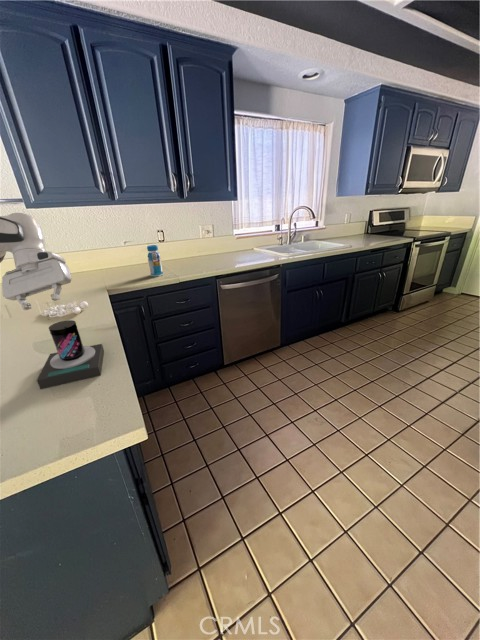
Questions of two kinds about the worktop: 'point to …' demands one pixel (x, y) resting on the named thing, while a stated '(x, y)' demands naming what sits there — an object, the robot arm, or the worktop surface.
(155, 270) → the beverage bottle
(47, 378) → the scale
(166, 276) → the worktop surface
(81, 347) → the supplement container
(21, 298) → the robot arm
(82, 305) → the white bead necklace
